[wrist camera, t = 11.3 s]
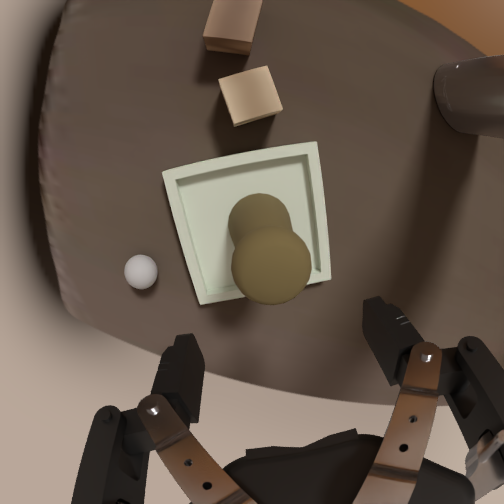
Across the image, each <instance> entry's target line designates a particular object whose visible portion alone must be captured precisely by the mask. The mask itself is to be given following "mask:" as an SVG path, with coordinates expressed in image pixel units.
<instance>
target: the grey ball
mask: <svg viewBox="0 0 504 504" xmlns="http://www.w3.org/2000/svg"><path fill="white" fill-rule="evenodd" d="M124 273H125V278H126V280H127V282H128V283H129V284H130V285H131V286H132V287H134V288H137V289H146V288H148V287H150V286H151V285H152V284H153V283H154V282H155V281H156V278H157V273H158V271H157V266H156V264H155V262H154V261H153V260H152V259H151V258H150V257H148V256H146V255H136V256H133V257H132V258H130V259H129V260H128V262H127V263H126V266H125V271H124Z"/></svg>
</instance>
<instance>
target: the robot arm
mask: <svg viewBox="0 0 504 504" xmlns="http://www.w3.org/2000/svg"><path fill="white" fill-rule="evenodd" d="M434 92H435V97H436V101H437V104H438V107H439V110H440V112H441V113H442V115H443V117H444V119H445V120H446V121H447V123H448V124H449V125H450V126H451V127H452V128H453V129H455V130H456V131H458V132H460V133H467V134H476V135H483V136H490V137H497V138H503V139H504V55H498V56H489V57H482V58H476V59H470V60H463V61H458V62H453V63H448V64H444V65H442V66H441V67H440V68H439V69H438V70H437V72H436V74H435V78H434ZM362 328H363V333H364V336H365V338H366V340H367V342H368V344H369V346H370V348H371V350H372V351H373V353H374V355H375V357H376V359H377V361H378V363H379V365H380V367H381V368H382V370H383V372H384V374H385V376H386V378H387V380H388V382H389V384H390V386H393V385H396V384H399V385H400V387H401V389H400V392H399V395H398V398H397V401H396V404H395V408H394V410H393V413H392V416H391V419H390V421H389V424H388V427H387V429H386V432H385V434H384V437H380V436H375V435H370V434H357V431H356V428H354V429H351V430H347V431H344V432H340V433H336V434H333V435H329V436H327V437H325V438H323V439H320V440H318V441H316V442H314V443H312V444H309V445H307V446H305V447H300V448H299V447H277V446H271V447H263V448H255V449H246V456H244V457H241V458H239V459H237V460H235V461H233V462H231V463H229V464H228V465H227V466H225V467H224V468H223V469H222V468H221V467H220V466H219V465H218V464H217V463H216V462H215V461H214V459H213V458H212V457H211V456H210V455H209V454H208V452H207V451H206V450H205V449H204V448H203V447H202V445H201V444H200V443H199V442H198V441H197V439H196V438H195V437H194V436H193V434H192V433H191V432H190V431H189V428H190V423H198V421H199V412H200V403H201V395H202V386H203V378H204V371H205V362H204V358H203V355H202V353H201V350H200V348H199V346H198V343H197V341H196V339H195V336H194V335H193V334H192V333H190V334H182V335H177V336H176V338H175V342H174V345H173V346H170V347H168V348H167V349H166V350H165V351H164V353H163V354H162V357H161V360H160V364H159V366H158V371H157V373H156V376H155V380H154V383H153V387H152V390H151V394H150V395H148V396H146V397H145V398H143V399H142V400H141V401H140V402H139V404H138V406H137V408H134V409H131V410H127V411H123V412H120V410H119V409H118V408H117V407H115V406H111V405H110V406H105V407H102V408H101V409H99V410H98V411H97V413H96V414H95V416H94V419H93V422H92V425H91V429H90V432H89V435H88V438H87V442H86V445H85V448H84V452H83V456H82V460H81V463H80V467H79V471H78V475H77V479H76V483H75V488H74V492H73V497H72V502H71V504H144V497H145V487H146V478H147V469H148V461H149V453H150V451H152V450H156V452H157V453H158V455H159V457H160V458H161V460H162V461H163V463H164V464H165V466H166V467H167V469H168V470H169V472H170V473H171V475H172V476H173V477H174V479H175V481H176V482H177V483H178V485H179V486H180V487H181V489H182V490H183V491H184V493H185V494H186V495H187V497H188V498H189V499H190V500H191V502H190V503H189V504H475V501H477V500H478V499H480V498H481V497H483V496H484V495H486V494H487V493H489V492H490V491H492V490H495V489H497V488H499V487H500V486H502V485H503V484H504V370H503V368H502V367H501V365H500V364H499V363H498V361H497V360H496V359H495V357H494V356H493V355H492V353H491V352H490V351H489V349H488V348H487V347H486V345H485V344H484V343H483V342H482V341H481V340H480V339H479V338H477V337H474V336H467V337H464V338H462V339H461V340H460V341H459V343H458V346H457V347H453V348H446V349H440V347H439V346H438V345H436V344H434V343H432V342H427V341H424V339H423V338H422V337H421V335H420V334H419V333H418V332H417V330H416V329H415V328H414V326H413V325H412V324H411V322H409V320H408V319H407V317H405V315H404V313H403V312H402V311H401V310H400V308H398V307H396V306H394V305H393V304H388V305H386V304H385V302H384V301H383V300H382V298H381V297H380V296H377V297H373V298H370V299H366V300H364V302H363V321H362ZM439 395H444V397H445V399H446V401H447V403H448V405H449V407H450V409H451V411H452V413H453V415H454V417H455V419H456V421H457V423H458V425H459V428H460V430H461V432H462V434H463V436H464V439H465V441H466V443H467V445H468V448H469V452H468V454H467V456H466V460H465V464H466V476H464V475H463V474H460V473H458V472H455V471H453V470H450V469H448V468H446V467H443V466H441V465H439V464H437V463H434V462H432V461H430V460H428V459H426V458H423V457H424V454H425V450H426V447H427V443H428V440H429V437H430V433H431V428H432V425H433V421H434V416H435V412H436V407H437V402H438V397H439Z"/></svg>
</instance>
